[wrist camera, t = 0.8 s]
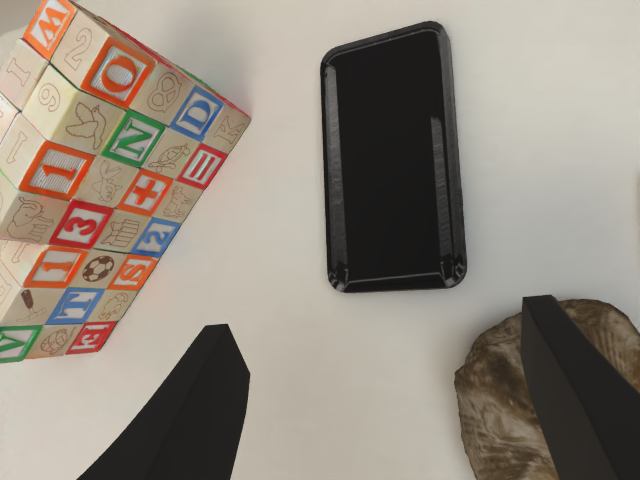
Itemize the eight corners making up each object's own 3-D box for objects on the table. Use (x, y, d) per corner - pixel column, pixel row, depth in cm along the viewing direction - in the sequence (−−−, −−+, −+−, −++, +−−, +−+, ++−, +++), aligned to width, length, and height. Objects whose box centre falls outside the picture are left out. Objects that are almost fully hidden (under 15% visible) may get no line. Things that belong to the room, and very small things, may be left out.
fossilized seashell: (542, 569, 22) (729, 422, 21) (481, 534, 18) (707, 353, 17) (448, 431, 28) (590, 313, 27) (387, 384, 24) (551, 244, 23)
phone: (328, 293, 29) (319, 51, 31) (336, 294, 30) (327, 58, 32) (467, 286, 26) (446, 15, 28) (470, 287, 27) (451, 24, 29)
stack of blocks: (101, 354, 39) (-86, 375, 28) (61, 302, 41) (-124, 302, 30) (253, 117, 35) (107, 31, 24) (199, 76, 37) (45, -19, 26)
